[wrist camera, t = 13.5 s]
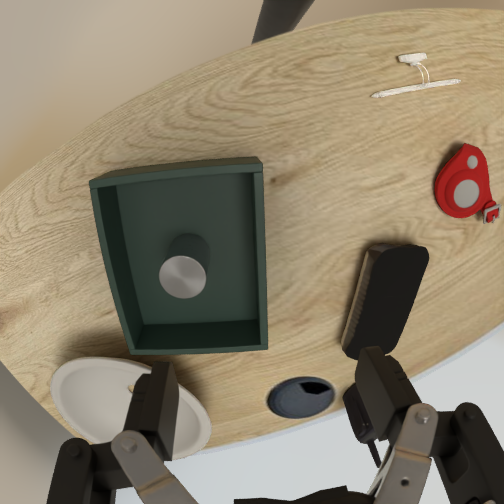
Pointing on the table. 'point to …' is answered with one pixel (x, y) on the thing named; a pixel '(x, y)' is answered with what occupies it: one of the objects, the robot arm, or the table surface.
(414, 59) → the picture light
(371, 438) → the two-way radio
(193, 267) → the metal cylinder
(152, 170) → the bin
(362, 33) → the table surface
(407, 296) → the bristle scrub brush
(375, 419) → the robot arm
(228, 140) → the table surface
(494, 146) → the table surface
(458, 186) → the tracker holder
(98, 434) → the soup bowl
